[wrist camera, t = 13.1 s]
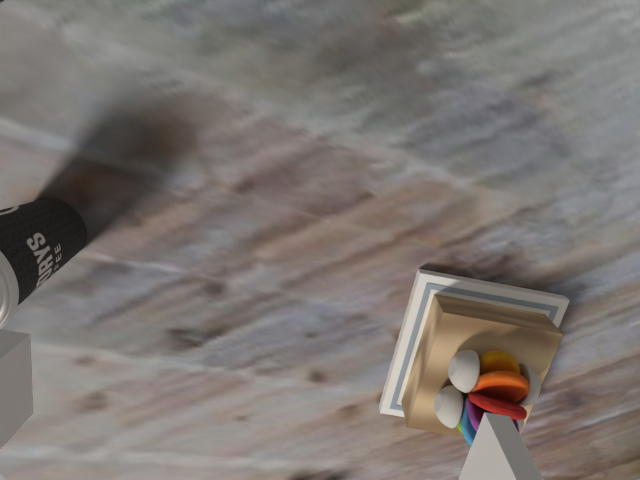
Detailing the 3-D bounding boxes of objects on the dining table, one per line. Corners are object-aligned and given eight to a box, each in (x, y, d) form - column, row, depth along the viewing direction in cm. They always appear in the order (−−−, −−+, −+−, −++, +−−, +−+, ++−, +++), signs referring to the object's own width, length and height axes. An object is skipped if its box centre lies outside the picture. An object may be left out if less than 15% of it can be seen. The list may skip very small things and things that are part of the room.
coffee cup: (33, 279, 48) (-92, 360, 34) (-8, 195, 45) (-164, 246, 31) (115, 261, 47) (22, 337, 33) (78, 174, 44) (-41, 216, 30)
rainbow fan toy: (537, 351, 44) (576, 401, 37) (500, 427, 47) (529, 486, 40) (456, 332, 43) (479, 378, 36) (424, 410, 46) (440, 467, 39)
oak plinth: (434, 293, 46) (443, 312, 42) (544, 313, 47) (563, 334, 43) (401, 402, 51) (406, 427, 47) (502, 419, 51) (515, 445, 47)
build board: (418, 268, 47) (420, 273, 45) (564, 295, 47) (570, 301, 46) (379, 405, 52) (380, 413, 51) (509, 428, 53) (513, 436, 52)
